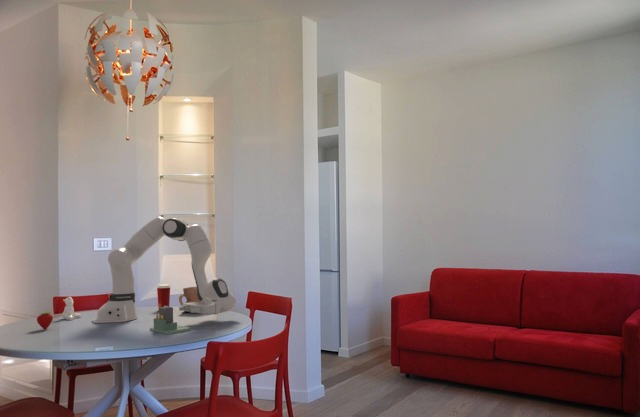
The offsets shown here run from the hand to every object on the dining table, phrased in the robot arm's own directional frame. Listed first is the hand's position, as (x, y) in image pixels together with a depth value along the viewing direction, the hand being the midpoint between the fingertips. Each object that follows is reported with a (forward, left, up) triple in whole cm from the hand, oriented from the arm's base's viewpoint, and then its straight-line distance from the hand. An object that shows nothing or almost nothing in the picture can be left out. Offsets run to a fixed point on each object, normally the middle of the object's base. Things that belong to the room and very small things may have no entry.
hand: (185, 309), depth 261 cm
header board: (-8, -4, -9) cm, 12 cm away
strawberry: (-66, +23, -9) cm, 70 cm away
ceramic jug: (+8, +48, -9) cm, 49 cm away
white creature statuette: (-58, +52, -9) cm, 78 cm away
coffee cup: (-8, +62, -9) cm, 63 cm away
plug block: (-9, -5, -7) cm, 13 cm away
